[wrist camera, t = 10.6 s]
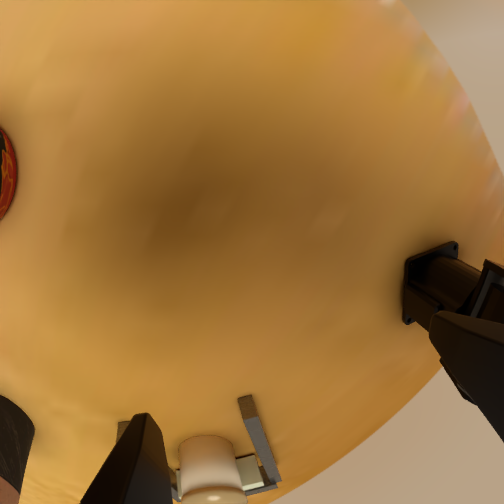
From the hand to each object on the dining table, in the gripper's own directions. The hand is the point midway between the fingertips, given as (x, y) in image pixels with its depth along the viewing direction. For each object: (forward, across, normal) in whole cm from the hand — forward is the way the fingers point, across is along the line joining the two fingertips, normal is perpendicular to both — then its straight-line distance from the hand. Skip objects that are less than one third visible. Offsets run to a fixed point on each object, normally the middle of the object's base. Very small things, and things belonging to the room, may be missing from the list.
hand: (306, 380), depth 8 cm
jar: (+12, +8, +20) cm, 24 cm away
